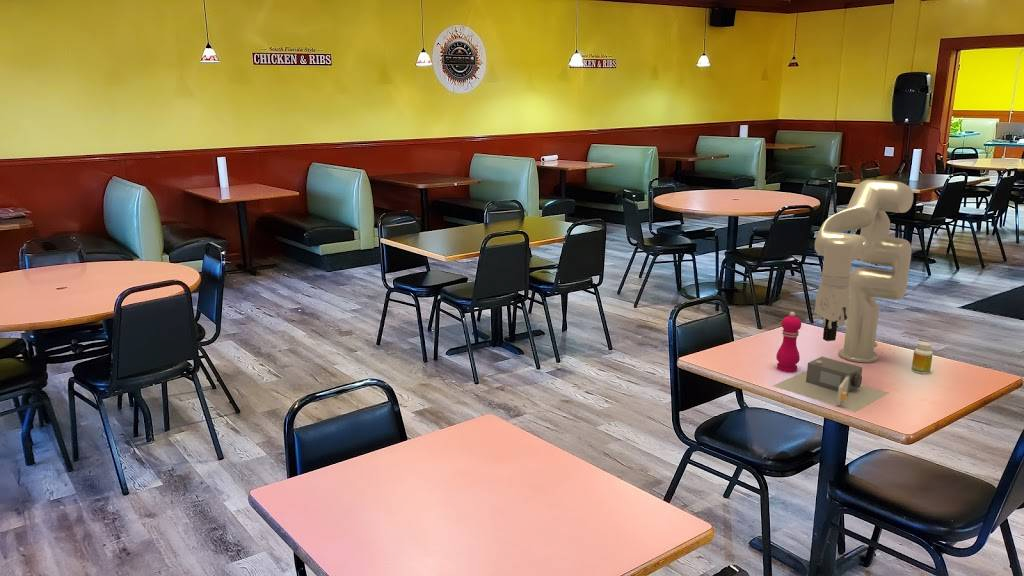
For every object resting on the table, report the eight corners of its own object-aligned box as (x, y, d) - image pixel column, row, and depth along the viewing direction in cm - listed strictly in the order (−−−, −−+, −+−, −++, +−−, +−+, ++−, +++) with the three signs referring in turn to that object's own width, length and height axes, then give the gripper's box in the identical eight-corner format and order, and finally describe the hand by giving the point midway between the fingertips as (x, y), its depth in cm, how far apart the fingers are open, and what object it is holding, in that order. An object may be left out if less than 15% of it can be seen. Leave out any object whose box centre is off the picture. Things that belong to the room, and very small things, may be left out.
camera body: (820, 375, 245) (822, 354, 243) (864, 388, 235) (867, 366, 233) (805, 382, 239) (807, 360, 237) (850, 395, 229) (853, 373, 227)
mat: (808, 370, 250) (808, 369, 250) (888, 394, 231) (889, 392, 231) (772, 386, 236) (772, 385, 236) (854, 413, 217) (854, 411, 217)
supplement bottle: (925, 375, 247) (930, 347, 244) (908, 371, 250) (912, 343, 248) (932, 371, 250) (936, 343, 248) (915, 367, 254) (919, 339, 251)
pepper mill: (801, 374, 247) (807, 315, 242) (779, 373, 247) (785, 314, 242) (793, 366, 254) (800, 308, 249) (772, 366, 254) (777, 308, 249)
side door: (835, 405, 221) (838, 386, 219) (843, 393, 230) (846, 374, 228) (844, 407, 220) (846, 387, 218) (852, 395, 228) (854, 376, 227)
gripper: (808, 275, 227) (803, 333, 232) (840, 288, 213) (833, 349, 218) (831, 273, 229) (824, 330, 234) (863, 286, 215) (856, 347, 220)
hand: (829, 339), depth 226 cm, fingers closed
